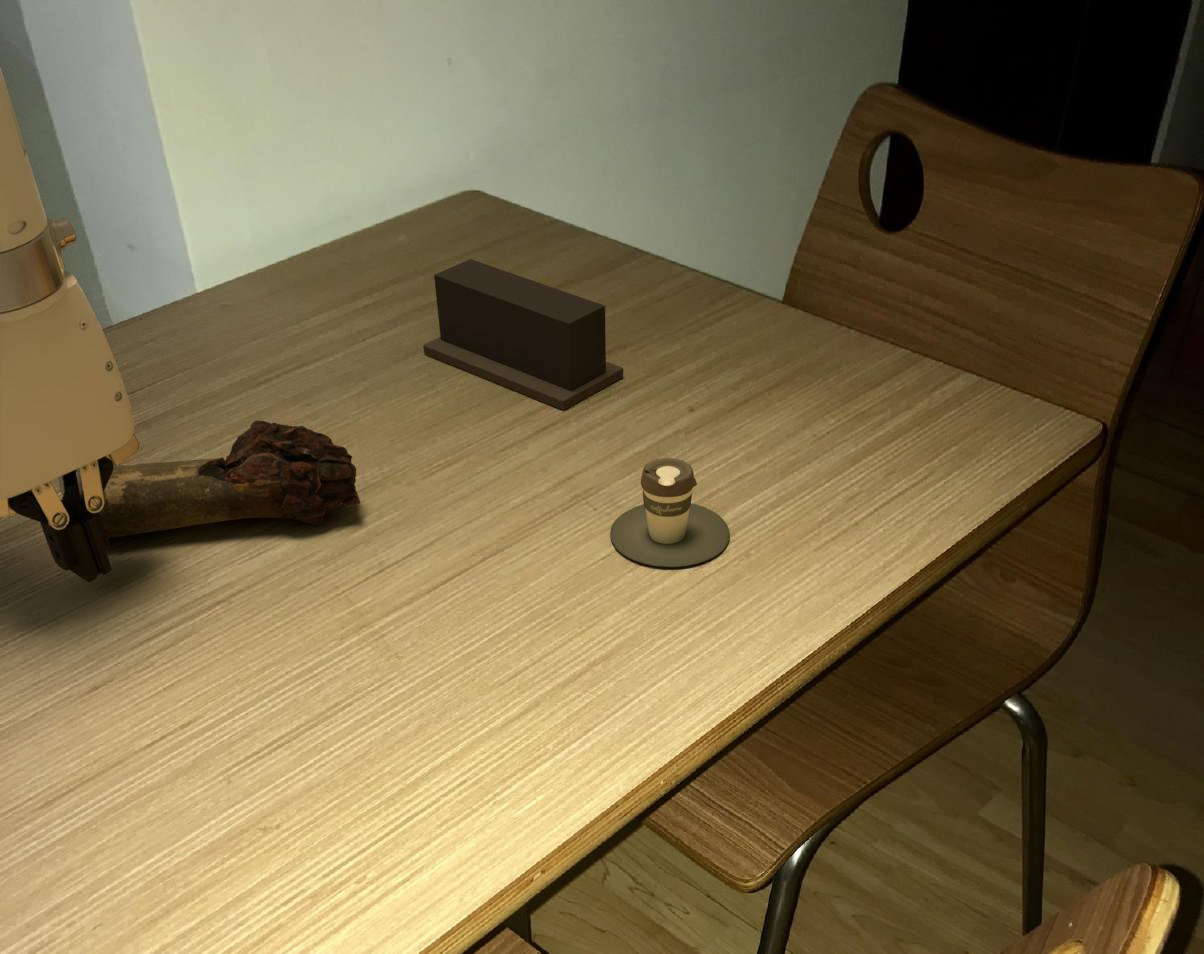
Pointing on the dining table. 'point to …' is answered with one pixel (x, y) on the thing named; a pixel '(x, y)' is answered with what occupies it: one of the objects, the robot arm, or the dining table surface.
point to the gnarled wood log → (234, 484)
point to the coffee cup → (669, 521)
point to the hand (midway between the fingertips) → (87, 568)
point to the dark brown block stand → (521, 334)
